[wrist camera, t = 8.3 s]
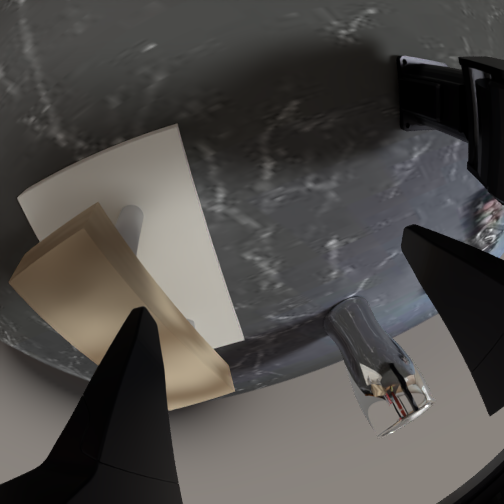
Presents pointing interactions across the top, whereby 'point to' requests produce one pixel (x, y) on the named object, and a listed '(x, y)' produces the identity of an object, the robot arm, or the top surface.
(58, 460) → the robot arm
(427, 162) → the top surface
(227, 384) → the maple board
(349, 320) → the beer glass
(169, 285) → the peg stand
